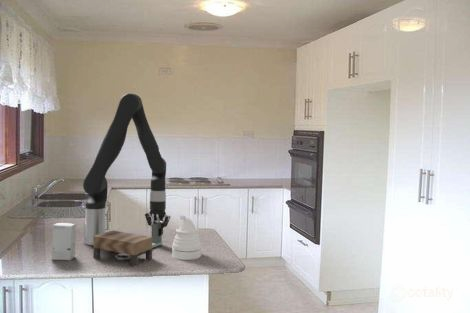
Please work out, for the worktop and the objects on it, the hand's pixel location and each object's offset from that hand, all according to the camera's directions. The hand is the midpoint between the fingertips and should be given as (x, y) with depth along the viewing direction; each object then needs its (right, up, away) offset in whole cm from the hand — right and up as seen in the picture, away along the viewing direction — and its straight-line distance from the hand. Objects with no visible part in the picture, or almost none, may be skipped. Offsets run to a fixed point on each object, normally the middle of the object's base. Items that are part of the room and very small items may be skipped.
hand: (157, 235), depth 222 cm
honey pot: (+16, -7, -15) cm, 23 cm away
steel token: (-11, -7, -22) cm, 25 cm away
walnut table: (-11, -6, -22) cm, 25 cm away
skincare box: (-36, -6, -24) cm, 44 cm away
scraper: (-4, -5, -7) cm, 10 cm away
